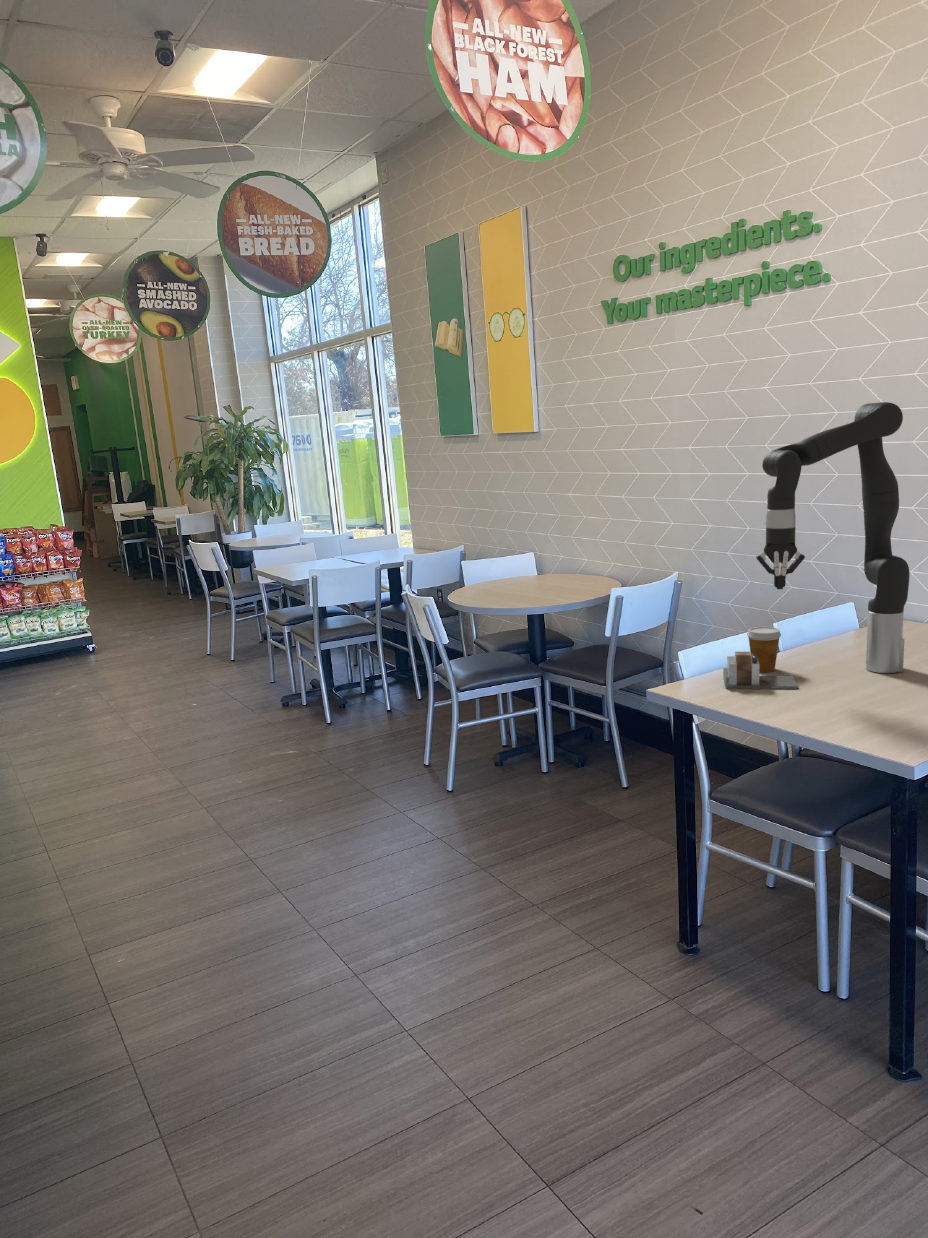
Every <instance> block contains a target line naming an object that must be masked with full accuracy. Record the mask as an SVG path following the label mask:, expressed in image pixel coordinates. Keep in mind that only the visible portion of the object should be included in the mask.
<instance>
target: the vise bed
mask: <svg viewBox="0 0 928 1238" xmlns="http://www.w3.org/2000/svg"><path fill="white" fill-rule="evenodd" d="M726 665H727V666H726V667H723V668H722V669H723V671H722V677H723V678H722V680H723V683H724V688H725V689H728V690H729V689H730V690H734V689H735V690H736V689H737V690H739V689H741V690H743V689H745V690H749V689H751V690H753V689H754V690H755V689H756V690H784V689H785V690H798V689H799V685H798V684H797V682H796V680H795V678H794V676H793V675H759V685H752V684H751V683H737V663H736V660H735V655H734V656H726Z"/></svg>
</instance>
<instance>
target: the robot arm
mask: <svg viewBox="0 0 928 1238" xmlns="http://www.w3.org/2000/svg"><path fill="white" fill-rule="evenodd" d="M903 420H904V414H903V411H902V409H901V408H900V406H899V405H897V404H895V403H893V402H887V401H884V402H872V403H871V402H870V403H864V404H863V405H861V406H859V408H858V409H857V410H856V413H855V415H854V420H853V421H852V422H850V423H846V424H842V425H839V426H836V427H833V428H829V429H826V430H823V431H820V432H818V433H815V434H813V435H810V436H808V437H807V438H804V439H802V440H800V441H798V442H795V443H791V444H788V445H785V446H782V447H778V448H776V449H773V450H771V451H770V452H768V453H767V454H765V456H764V458H763V459H762V463H761V464H762V470H763V471H764V473H765V474H766V475H768V476H769V477H772V478H773V477H774V478H776V480H775V483H774V484H775V485H774V486H772V487H770V488H769V489H768V491H767V497H766V499H767V502H766V505H767V507H766V510H767V511H766V515H765V546H764V548H763V551H761V553H760V554H757V555H756V556H755V558H756V560H757V561H758V562H759V563H760V565H761V566H762V567H763V568H764V569H765V571H767V573H768V574H769V575H770V574H771V575H773V586H774V587H775V588H776V590H783V589H784V588H785V587H786V579H787V578H786V577H787V575H789V574H793V573H794V572H795V570H796V569H797V568H798V567H799V565H800V564H801V563H802V562H803V561H804V560H805V558H806V556H805V555H804V554H803V553H800V552H799V551H798V548H797V545H796V526H797V525H796V520H797V518H796V517H797V516H796V509H795V508H796V491H797V488H798V485H799V481H800V476H801V473H802V467H803V466H811V465H814V464H817V463H818V462H820V461H822V460H825V459H827V458H829V457H832V456H833V455H835V454H838V453H840V452H843V451H844V450H847V449H849V448H852V447H855V446H857V450H858V455H859V457H858V458H859V465H860V467H859V468H860V477H861V497H862V499H861V501H862V509H863V524H864V525H863V526H864V540H865V541H864V542H865V543H864V561H863V570H864V571H863V572H864V576H865V578H866V579H867V581H868V582H870V584H873V585H874V586H876V591H875V592H876V593H875V597H874V598H872V599H869V601H868V603H867V624H866V625H867V627H866V628H867V629H866V648H865V649H866V651H865V652H866V653H865V655H866V657H865V669H866V670H867V671H869V672H874V673H880V674H895V673H900V672H901V673H903V672H904V662H905V661H904V658H905V638H904V637H903V636H904V635H903V632H904V630H903V629H904V612H905V611H904V610H905V606H906V603H907V601H908V596H909V587H910V586H909V585H910V567H909V564H908V562H907V561H906V560H905V559H904V558H902V557H900V556H897V555H894V554H893V552H892V542H891V541H892V539H891V537H892V530H893V527H894V524H895V522H896V519H897V516H898V514H899V509H900V494H899V492H900V489H899V484H898V480H897V476H896V475H895V473H894V471H893V469H892V468H891V466H890V464H889V461H888V460H887V458H886V455H885V452H884V446H883V444H884V443H883V438H884V437H886V438H887V437H889V436H893V435H894V434H895V433H896V432H897V431H898V430H899V429H900V428H901V426H902V424H903ZM766 556H767V557H766ZM767 558H768V559H769V561H771V563H772V566H773V568H771V567H770V565H769V564H768V563H767V562H766V560H767ZM793 558H794V560H793V562H792V563H791V564H790V565H788V563H789V562H790V561H791V560H792V559H793Z"/></svg>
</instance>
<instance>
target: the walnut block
mask: <svg viewBox="0 0 928 1238" xmlns="http://www.w3.org/2000/svg"><path fill="white" fill-rule="evenodd" d="M734 657H735V660H736V663H737V683H751V653H750V651H734Z"/></svg>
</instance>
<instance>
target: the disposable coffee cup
mask: <svg viewBox="0 0 928 1238" xmlns="http://www.w3.org/2000/svg"><path fill="white" fill-rule="evenodd" d="M746 635H747V638H748V643H749V652H750V653H751V654H752V653H755V655H756V656H757V659H758V661H759V673H771V672H774V671H775V670H776V664H777V663H776V662H777V658H778V657H777V656H778V650H779V644H780V643H779V641H780V638H781V637H782V634H781V632H780V629H778V628H777V627H771V626H756V627H750V628H749V629H748V631H747V633H746Z"/></svg>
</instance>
